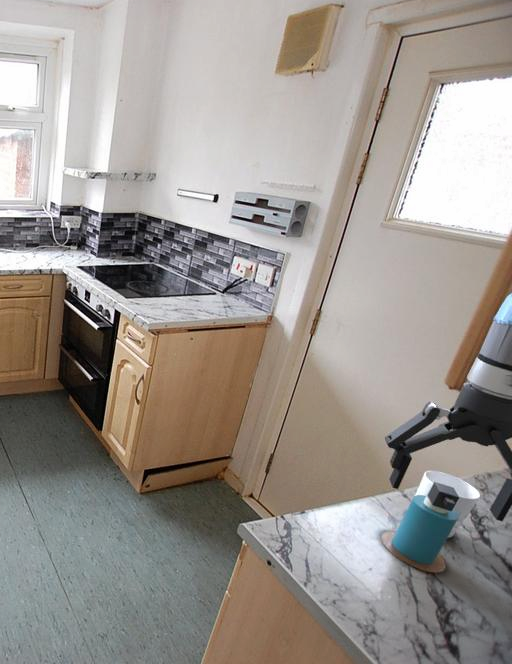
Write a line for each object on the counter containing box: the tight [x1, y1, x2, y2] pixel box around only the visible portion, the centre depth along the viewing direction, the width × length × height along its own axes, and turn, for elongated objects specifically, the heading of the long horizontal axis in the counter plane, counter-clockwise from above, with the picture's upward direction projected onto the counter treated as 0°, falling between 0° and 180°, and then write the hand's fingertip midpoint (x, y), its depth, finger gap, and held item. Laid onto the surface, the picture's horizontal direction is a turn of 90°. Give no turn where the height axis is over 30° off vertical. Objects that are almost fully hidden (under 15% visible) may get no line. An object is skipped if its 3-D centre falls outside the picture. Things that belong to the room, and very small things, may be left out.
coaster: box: [381, 531, 447, 574], centre depth 83 cm, size 9×9×1 cm
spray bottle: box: [392, 482, 459, 564], centre depth 80 cm, size 7×6×14 cm
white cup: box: [414, 470, 481, 539], centre depth 88 cm, size 8×8×10 cm
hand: (442, 499), depth 79 cm, fingers open, 13 cm apart
